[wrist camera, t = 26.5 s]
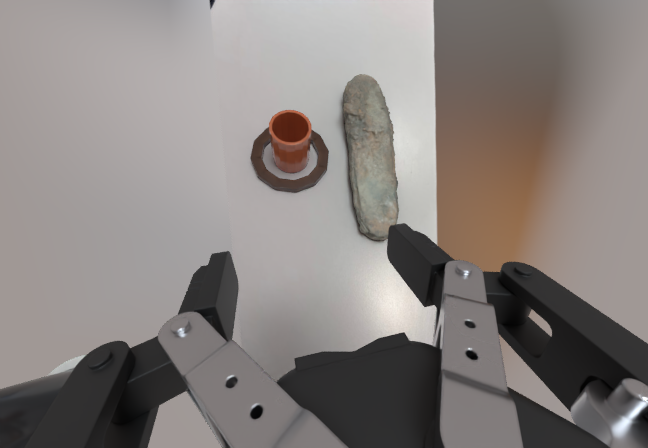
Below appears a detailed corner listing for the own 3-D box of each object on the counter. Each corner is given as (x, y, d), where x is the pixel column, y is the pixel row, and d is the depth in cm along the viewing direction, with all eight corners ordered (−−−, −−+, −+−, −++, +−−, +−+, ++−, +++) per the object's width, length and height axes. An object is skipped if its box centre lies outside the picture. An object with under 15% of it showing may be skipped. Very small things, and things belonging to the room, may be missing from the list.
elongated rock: (346, 243, 44) (399, 243, 46) (354, 237, 39) (413, 237, 41) (336, 80, 53) (380, 85, 55) (342, 58, 48) (390, 64, 50)
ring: (269, 202, 44) (268, 199, 42) (242, 139, 47) (240, 135, 46) (339, 176, 47) (340, 173, 46) (309, 119, 50) (309, 115, 49)
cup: (281, 177, 45) (278, 150, 37) (268, 148, 47) (262, 116, 39) (314, 166, 47) (318, 137, 39) (300, 138, 48) (301, 105, 40)
